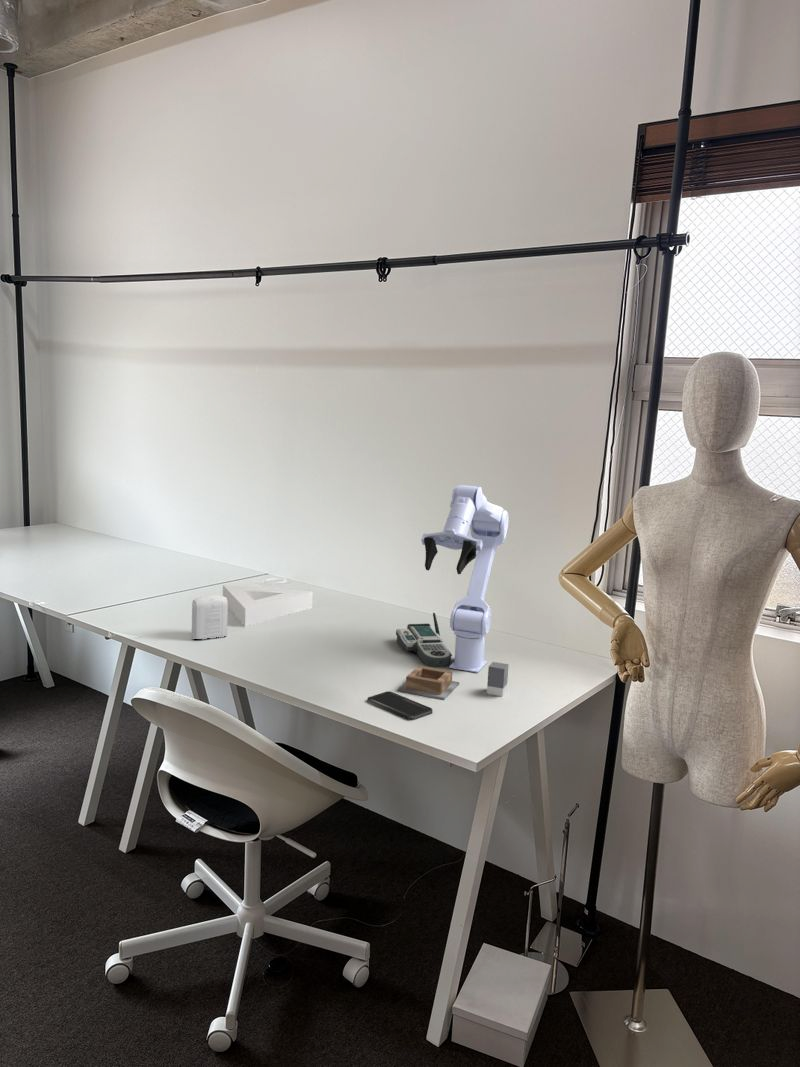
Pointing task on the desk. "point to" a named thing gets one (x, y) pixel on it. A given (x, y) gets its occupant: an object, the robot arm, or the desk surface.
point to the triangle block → (265, 602)
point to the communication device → (425, 643)
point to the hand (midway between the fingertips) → (442, 569)
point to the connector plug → (497, 678)
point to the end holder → (429, 683)
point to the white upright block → (209, 617)
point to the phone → (400, 705)
